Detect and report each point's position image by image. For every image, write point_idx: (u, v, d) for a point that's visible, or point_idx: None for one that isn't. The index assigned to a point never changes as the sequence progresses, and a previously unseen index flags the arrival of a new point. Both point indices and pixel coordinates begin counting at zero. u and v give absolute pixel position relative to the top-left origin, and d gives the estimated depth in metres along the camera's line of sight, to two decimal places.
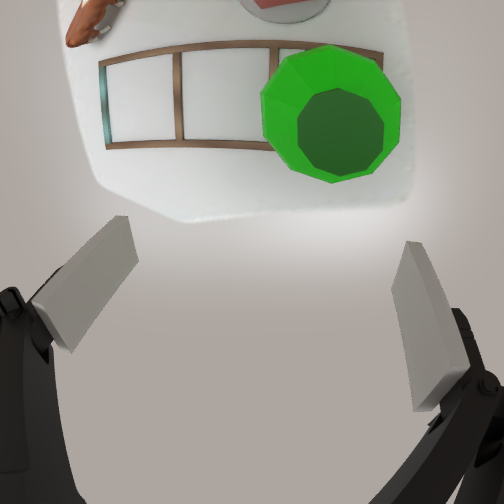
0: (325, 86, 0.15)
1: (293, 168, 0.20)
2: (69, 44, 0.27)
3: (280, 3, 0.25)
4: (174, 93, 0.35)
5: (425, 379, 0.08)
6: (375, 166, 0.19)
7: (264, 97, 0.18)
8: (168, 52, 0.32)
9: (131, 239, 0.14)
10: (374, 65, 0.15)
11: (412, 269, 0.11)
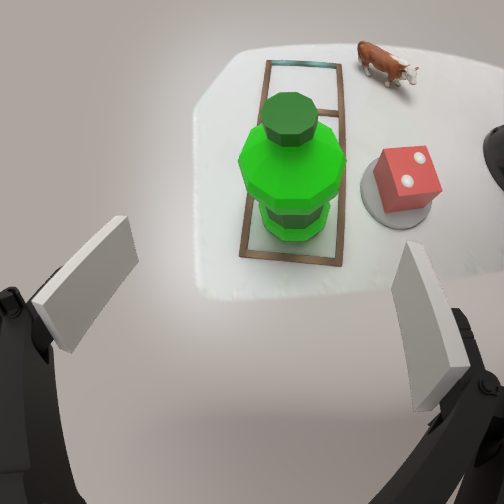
0: (315, 134, 0.24)
1: (252, 129, 0.27)
2: (360, 43, 0.42)
3: (378, 183, 0.41)
4: None
5: (425, 379, 0.08)
6: (255, 181, 0.26)
7: None
8: (339, 108, 0.46)
9: (131, 239, 0.14)
10: (335, 181, 0.25)
11: (412, 269, 0.11)
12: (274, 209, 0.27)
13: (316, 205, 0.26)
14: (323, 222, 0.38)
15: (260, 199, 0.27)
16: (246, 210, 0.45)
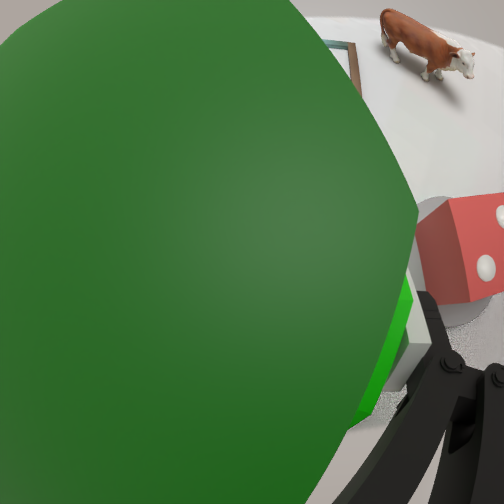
0: None
1: None
2: (385, 11, 0.23)
3: (423, 252, 0.22)
4: None
5: None
6: None
7: None
8: None
9: None
10: (369, 413, 0.06)
11: None
12: None
13: None
14: None
15: None
16: None
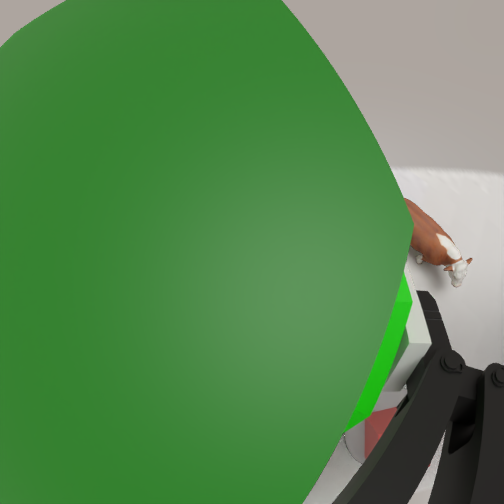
0: None
1: None
2: None
3: (366, 432, 0.31)
4: None
5: None
6: None
7: None
8: None
9: None
10: (368, 415, 0.06)
11: None
12: None
13: None
14: None
15: None
16: None
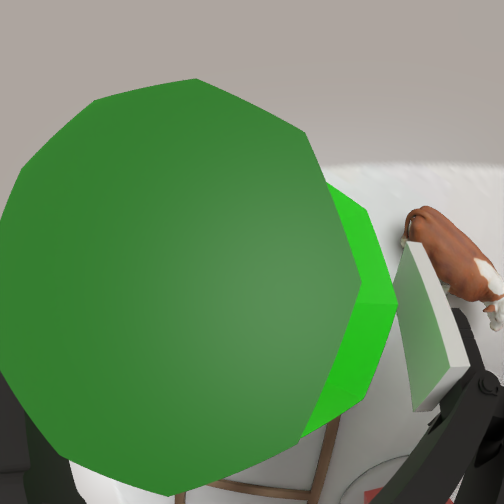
0: None
1: None
2: (417, 214, 0.20)
3: None
4: None
5: (425, 379, 0.08)
6: None
7: None
8: None
9: None
10: (361, 398, 0.07)
11: (412, 269, 0.11)
12: None
13: None
14: None
15: None
16: None
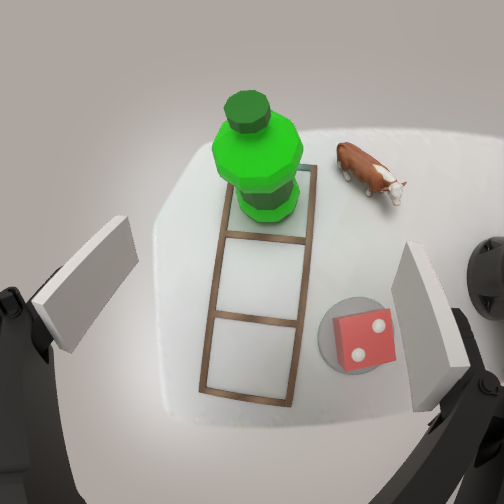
0: (272, 124, 0.29)
1: None
2: (340, 145, 0.43)
3: (335, 334, 0.41)
4: (268, 234, 0.48)
5: (425, 379, 0.08)
6: (223, 164, 0.31)
7: None
8: (307, 234, 0.47)
9: (131, 239, 0.14)
10: (290, 162, 0.30)
11: (412, 269, 0.11)
12: (240, 187, 0.32)
13: (275, 183, 0.32)
14: (292, 204, 0.43)
15: (228, 179, 0.32)
16: (204, 352, 0.45)
